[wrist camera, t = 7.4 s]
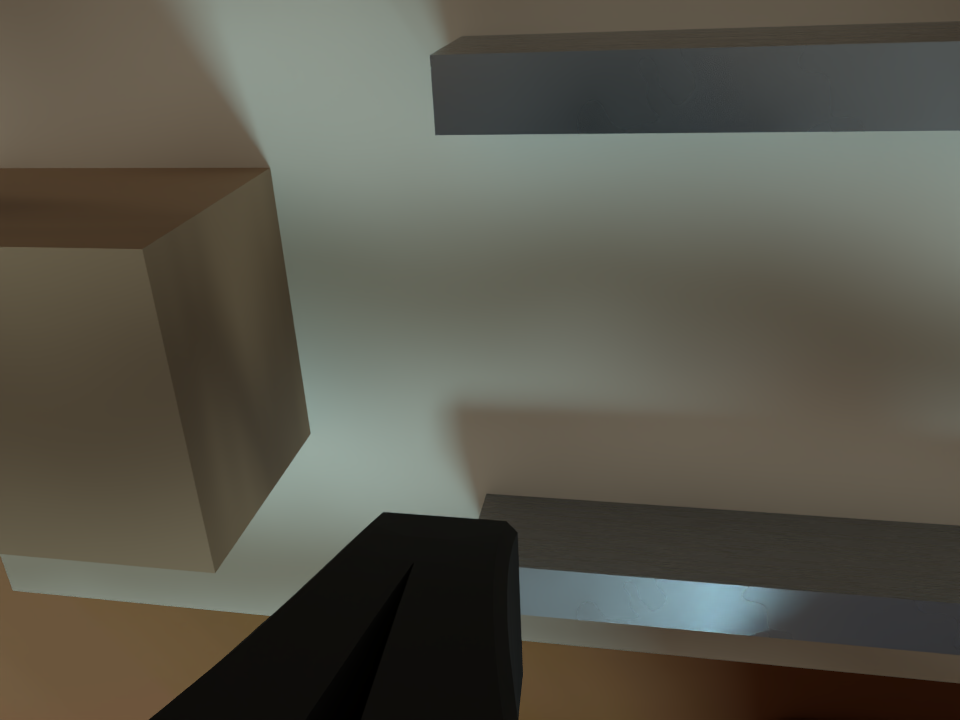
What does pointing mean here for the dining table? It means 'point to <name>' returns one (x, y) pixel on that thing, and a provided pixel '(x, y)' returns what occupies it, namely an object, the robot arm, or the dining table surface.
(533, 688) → the dining table surface
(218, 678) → the robot arm
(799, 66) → the grey metal bar
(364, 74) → the grey flat piece
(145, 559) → the walnut block
